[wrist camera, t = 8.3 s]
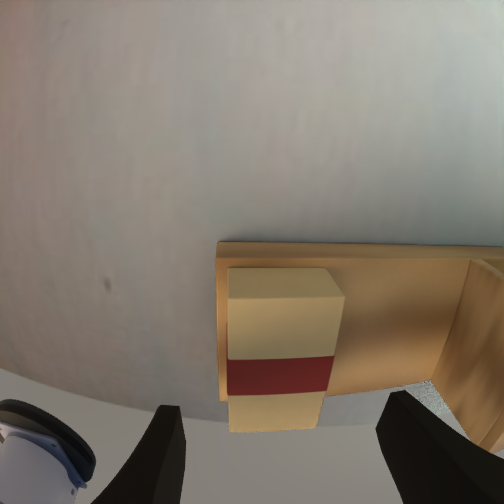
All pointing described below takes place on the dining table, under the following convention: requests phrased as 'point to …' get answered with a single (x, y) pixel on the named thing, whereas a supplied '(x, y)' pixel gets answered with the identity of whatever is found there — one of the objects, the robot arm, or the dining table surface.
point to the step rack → (402, 320)
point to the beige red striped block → (279, 346)
